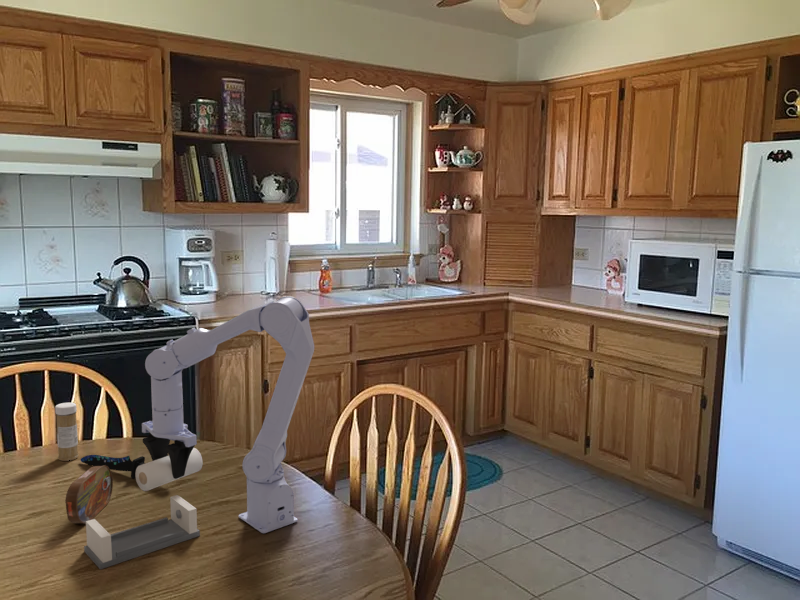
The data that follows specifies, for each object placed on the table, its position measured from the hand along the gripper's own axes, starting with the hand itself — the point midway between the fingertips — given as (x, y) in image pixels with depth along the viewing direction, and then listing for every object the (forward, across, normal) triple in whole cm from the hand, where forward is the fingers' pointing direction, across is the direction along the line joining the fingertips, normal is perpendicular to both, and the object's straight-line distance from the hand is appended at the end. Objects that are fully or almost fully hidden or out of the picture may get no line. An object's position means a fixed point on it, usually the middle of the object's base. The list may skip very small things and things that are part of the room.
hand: (170, 473), depth 134 cm
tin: (+9, +13, +9) cm, 18 cm away
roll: (-1, 0, 0) cm, 1 cm away
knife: (+9, +25, -7) cm, 27 cm away
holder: (+8, -6, +10) cm, 15 cm away
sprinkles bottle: (+9, +45, -4) cm, 46 cm away
